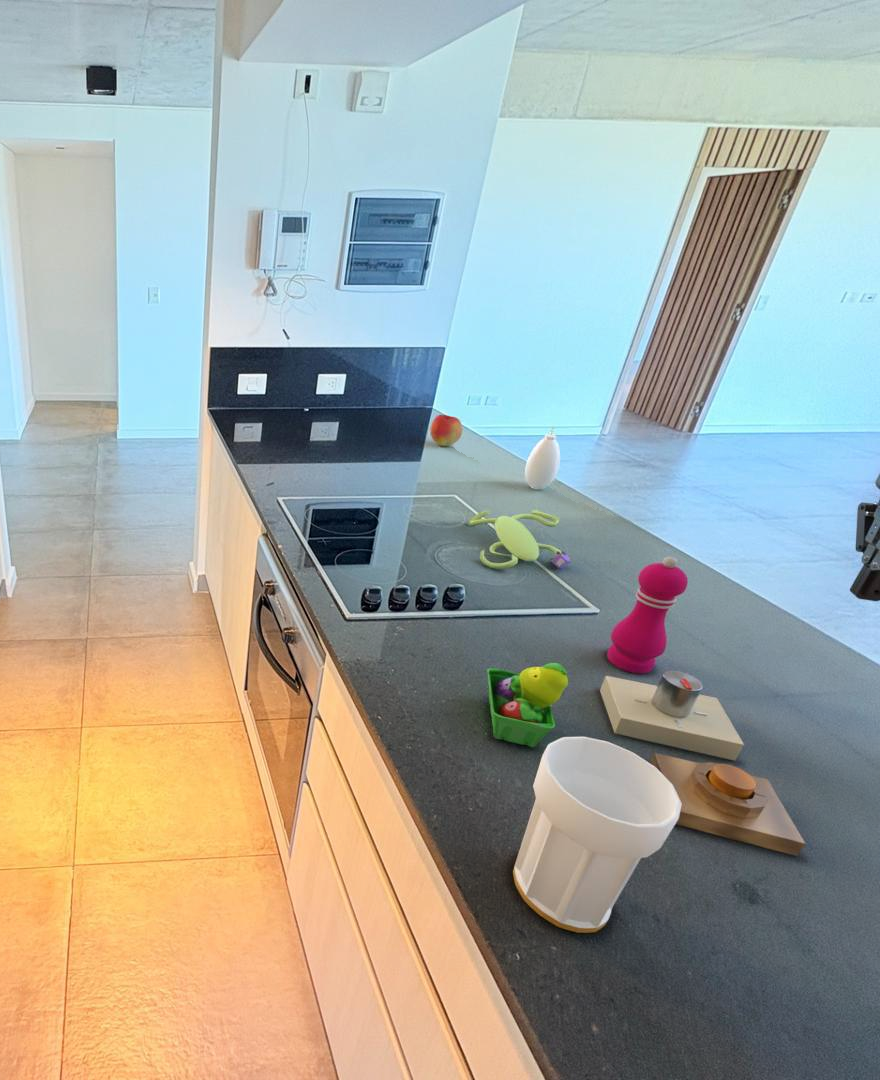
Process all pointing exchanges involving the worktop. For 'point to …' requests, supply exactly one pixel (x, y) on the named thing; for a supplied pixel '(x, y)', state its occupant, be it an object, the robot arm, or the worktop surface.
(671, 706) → the dimmer knob
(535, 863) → the cup
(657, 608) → the pepper mill
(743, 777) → the light button
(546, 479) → the sauce bottle
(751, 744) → the worktop surface
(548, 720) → the fruit basket
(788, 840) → the switch block
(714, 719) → the dimmer panel
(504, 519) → the figurine
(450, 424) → the apple
